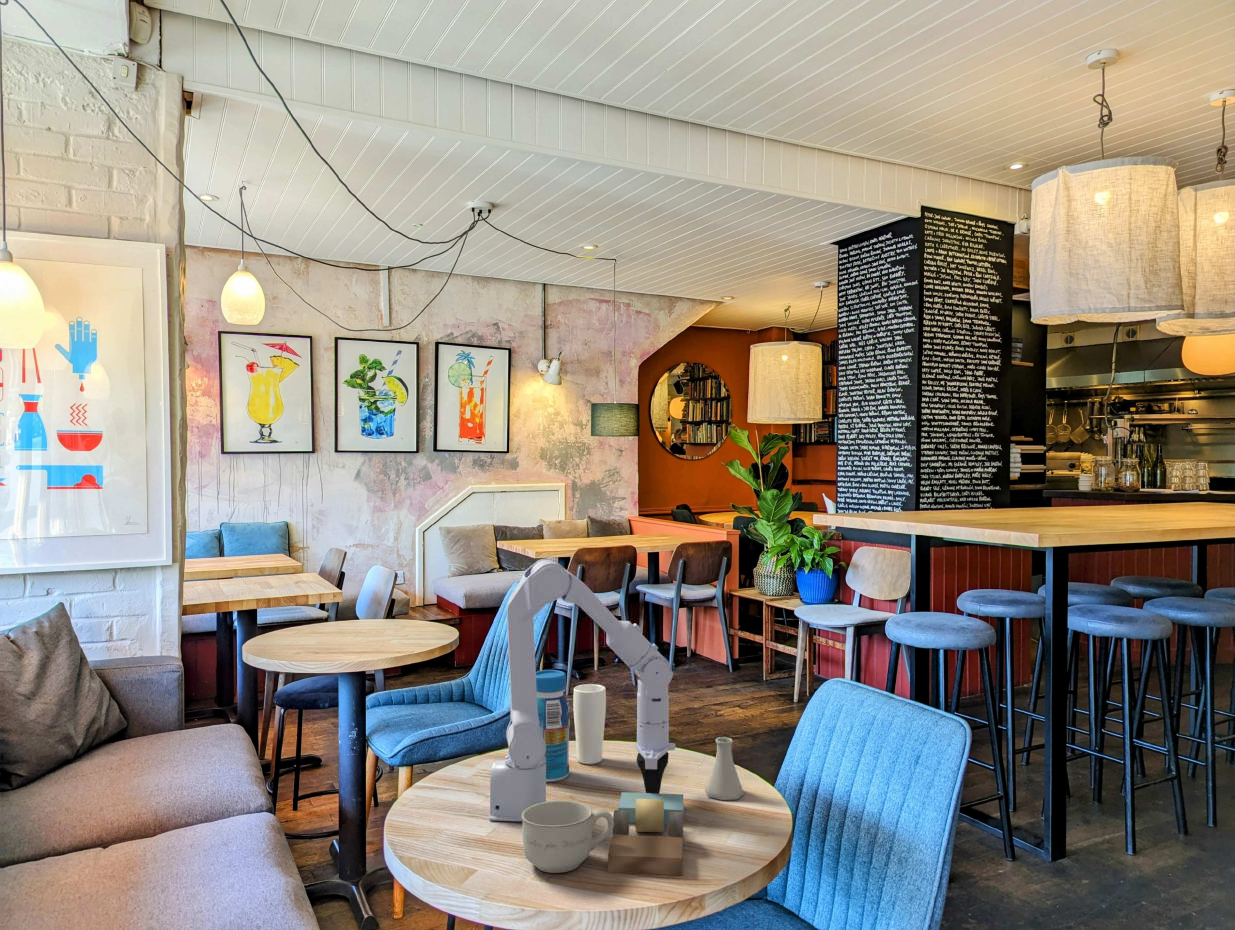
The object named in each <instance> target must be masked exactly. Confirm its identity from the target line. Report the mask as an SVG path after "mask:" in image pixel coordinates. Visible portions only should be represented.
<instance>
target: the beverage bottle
mask: <svg viewBox="0 0 1235 930" xmlns="http://www.w3.org/2000/svg"><path fill="white" fill-rule="evenodd" d="M566 688H567V676H566V673H565V672H564V671H561V670H557V669H544V670H537V671H536V690H537V709H538V718H539V725H540V728H541V734H542V737H543V739H544V741H545V744H546V752H545V755H544V756H545V757H546V783H552V782H553V783H555V782H559V781H562V780H564V779H566V778H567V777H568V776H569V775H570V763H569V762H570V755H569V753H570V749H569V747H570V744H569V743H570V726H571V718H570V716H569V712H570V704H569V701H568V698H567V696H566V695H565V694H564V692H565V691H566Z"/></svg>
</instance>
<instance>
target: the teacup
mask: <svg viewBox="0 0 1235 930" xmlns="http://www.w3.org/2000/svg"><path fill="white" fill-rule="evenodd" d="M547 801H548V802H543V803H539V804H535V805H533V806H530V807H528V808H527V809H526V810H525V811H524V812H523V813H522V820H523V822H522V844H523V847H522V848H523V853H524V855H525V857H526V859H527V860H528V862H529V863H530V864H532V865H533V866H535V867H536V868H537V869H538V870H540V871H542V872H545V873H551V874H558V873H559V874H561V873H566V872H570V871H573V870H575V869H577V868H578V867H579V866H580V865H581V864H582V863H583V862H584V861H585V860H586V859H587V858H588V856H589V855H590V852H591V851H593V850H594V849H595V848H596V847H597V845H598V844H600V843H601V842H603V841H604V840H606V839H607V838H608V837H609V836H610V835H611V833H613V827H614V820H613V815H612V814H611V812H609V811H608V810H605V809H599V810H596V811H595V812H593V810H592V808H591V807H590V806H588V805H587V804H585V803H582V802H578V801H575V800H572V801H571V800H550V801H549V800H547ZM600 818H604V819H606V822H607V825H606V827H605V829H604V830H603V831H602V832H600V833H599V834H598V835H596V836H594V837H593V829H594V828H595V824H596V822H597V821H598V820H599V819H600Z"/></svg>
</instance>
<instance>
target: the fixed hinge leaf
mask: <svg viewBox="0 0 1235 930" xmlns="http://www.w3.org/2000/svg"><path fill="white" fill-rule="evenodd" d="M612 817H613V820H614V827H613V830H612V835H611V839H610V844H609V848H608V854H607V873H620V874H621V873H622V874H639V875H641V874H644V875H665V876H667V875H668V876H683V869H684V867H683V866H684V865H683V860H684V856H683V853H684V851H683V850H684V849H683V848H684V812H683V813H682V812H669V821H668V824H667V827H668V828H667V829H668V830H667V832H668V836H663V835H662V836H657V835H635V834H634V835H633V834H632V835H631V834H630V823H629V810H618V809H614V811H613V815H612Z"/></svg>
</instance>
